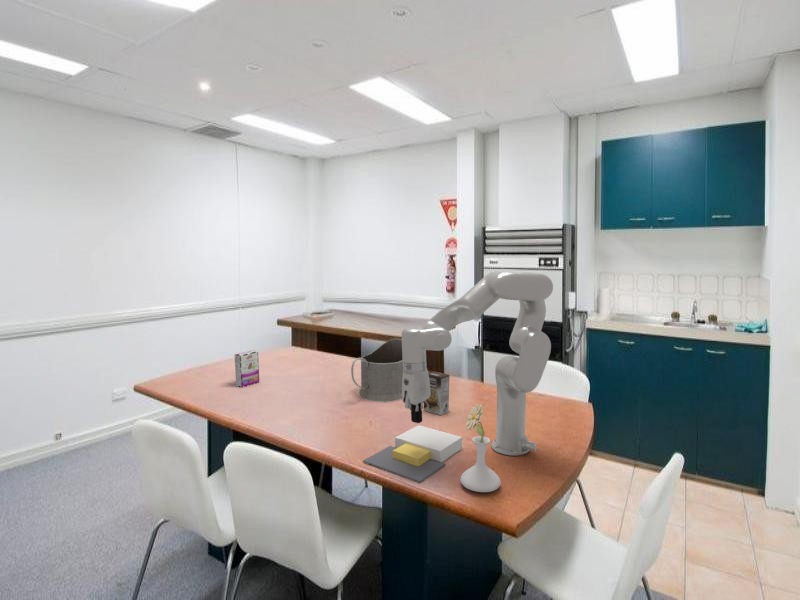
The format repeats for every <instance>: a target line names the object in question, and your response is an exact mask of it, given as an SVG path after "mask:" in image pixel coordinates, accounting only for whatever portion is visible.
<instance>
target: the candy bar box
mask: <svg viewBox="0 0 800 600" xmlns="http://www.w3.org/2000/svg"><path fill="white" fill-rule="evenodd" d="M259 362H260V361H259V351H258V350H249V351H243V352H239V353H236V354H234V368H235V372H234V374H235V386H236V385H237V386H236V387H238V386H241V387H240V388H244V387H243V386H245V387H248V386H247V385H249V386H251V385H250V384H252V385H255V384H258V383H257V382H259V383H260V369H259V368H260V366H259V365H260V363H259ZM254 383H255V384H254Z"/></svg>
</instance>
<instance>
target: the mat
mask: <svg viewBox="0 0 800 600" xmlns="http://www.w3.org/2000/svg"><path fill="white" fill-rule="evenodd" d="M394 449H396V448H395V446H392V445H389V446H387V447H385V448H383V449H381V450H379V451H378V452H375V453H374V454H373V455H370V456H369V457H366V458H364V459H363V460H362V463H363V462H365V463H364V464H366V463H368V464H367V465H369V464H371V465H370V466H372V465H374V466H376V467H375V468H377V467H379V468H378V469H380V468H381V469H380V470H383V469H384V470H383V471H385V470H387V471H386V472H388V471H389V472H388V473H391V472H392V473H391V474H394V475H396V474H398V475H397V476H399V475H400V476H399V477H402V476H403V477H402V478H404V479H407V478H408V479H407V480H410V481H413V482H416V483H418V484H421V483H422V482H424V481H425V480H427V479H428V478H429V477H431V476H433V474H435V473H437V472H438V471H440V470H441V469H442V468H443V467H445V466H446V463H445V462H439V461H436V460H433V459H429V460H428V461H426V462H425V463H423V464H421V465H420V466H415V465H412V464H409V463H406V462H403V461H400V460H397V459H394V458H393V450H394ZM374 466H373V467H374Z"/></svg>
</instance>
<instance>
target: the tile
mask: <svg viewBox="0 0 800 600" xmlns="http://www.w3.org/2000/svg"><path fill="white" fill-rule="evenodd" d="M393 458H394V459H397V460H400V461H403V462H406V463H409V464H412V465H415V466H420V465H421V464H423V463H425V462H426V461H428V460H429V459H431V451H429V450H426V449H422V448H419V447H416V446H413V445H409V444H406V443H405V444H403V445H402V446H400V447H398V448H396V449H394V450H393Z"/></svg>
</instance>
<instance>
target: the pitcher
mask: <svg viewBox="0 0 800 600" xmlns="http://www.w3.org/2000/svg"><path fill="white" fill-rule="evenodd" d="M358 360H360V378H361V379H360V383H361V384H360V385H359V384H358V383H357V382H356V380H355V376H354V375H355V374H354V366H355V363H356V362H357V361H358ZM350 372H351V378H352V382H353V383H354V385H356V386H357V387H358V388H360V391H359V393H358V395H359V398H361V399H363V400H365V399H366V401H369V402H376V403H377V402H379V403H389V402H397V401H400V400H402V377H403V358H402V338H391V339H389V340H387V341H385V342H384V343H383V344H381V345H380V346H379V347H378V348H376V349H375V350H374V351H372V352H371V353H368V354H365V355H363V356H362V357H357V358H355V359H354V360H353V362H352V364H351V369H350Z"/></svg>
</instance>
